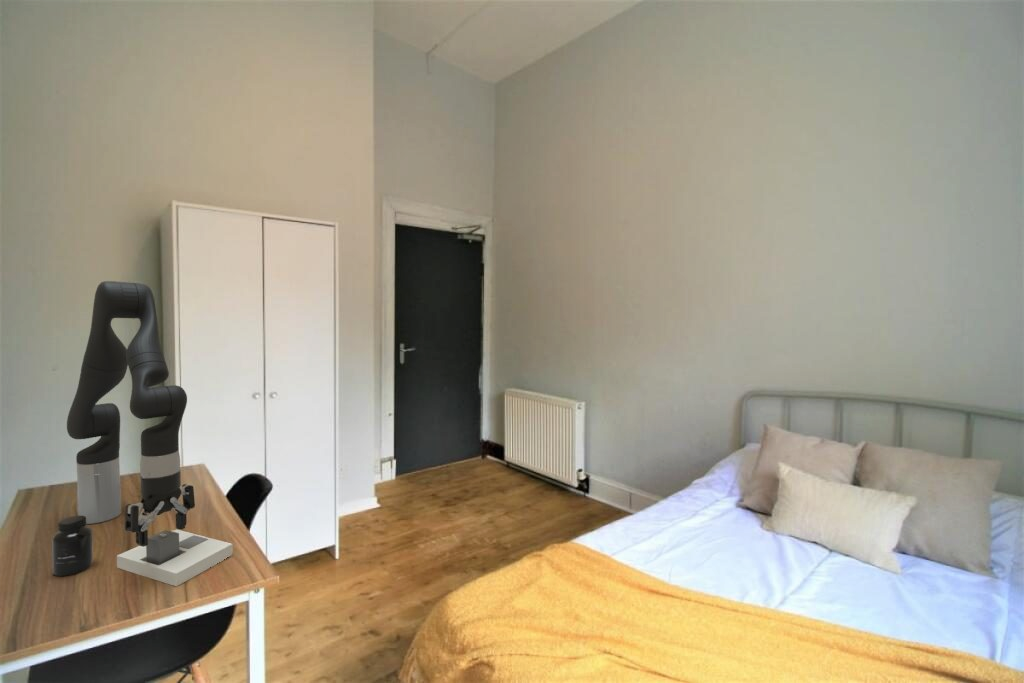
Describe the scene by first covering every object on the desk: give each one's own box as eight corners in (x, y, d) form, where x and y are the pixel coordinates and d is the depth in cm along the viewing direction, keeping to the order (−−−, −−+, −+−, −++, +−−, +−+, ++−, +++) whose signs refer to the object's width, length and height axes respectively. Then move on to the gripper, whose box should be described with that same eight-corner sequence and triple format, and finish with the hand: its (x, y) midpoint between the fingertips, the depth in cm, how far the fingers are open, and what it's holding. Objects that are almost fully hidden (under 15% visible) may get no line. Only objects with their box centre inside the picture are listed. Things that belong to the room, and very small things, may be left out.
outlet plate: (117, 567, 109) (116, 554, 109) (176, 540, 123) (176, 528, 122) (176, 586, 103) (176, 572, 103) (232, 555, 116) (232, 543, 116)
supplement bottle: (58, 580, 104) (56, 529, 103) (48, 570, 107) (46, 521, 107) (97, 566, 110) (95, 518, 109) (87, 557, 113) (85, 510, 112)
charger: (147, 571, 108) (145, 537, 108) (166, 561, 113) (165, 528, 112) (160, 575, 107) (159, 540, 106) (179, 565, 111) (178, 532, 111)
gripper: (180, 459, 116) (181, 520, 117) (115, 478, 103) (117, 548, 104) (201, 463, 114) (202, 526, 115) (138, 483, 100) (140, 555, 102)
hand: (162, 536), depth 109 cm, fingers open, 8 cm apart
